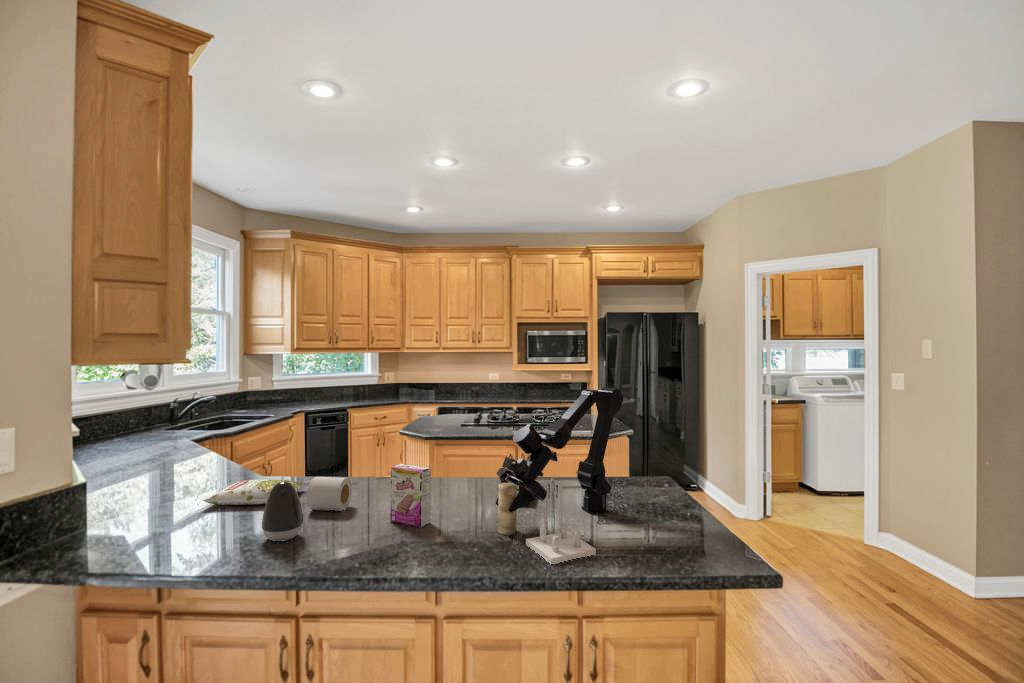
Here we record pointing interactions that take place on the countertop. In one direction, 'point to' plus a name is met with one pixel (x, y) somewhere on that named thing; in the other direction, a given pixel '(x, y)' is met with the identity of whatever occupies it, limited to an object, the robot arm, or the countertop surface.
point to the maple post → (506, 509)
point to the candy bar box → (410, 495)
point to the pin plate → (560, 545)
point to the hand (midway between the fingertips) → (503, 508)
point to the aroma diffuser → (282, 513)
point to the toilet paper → (329, 493)
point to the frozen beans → (247, 492)
